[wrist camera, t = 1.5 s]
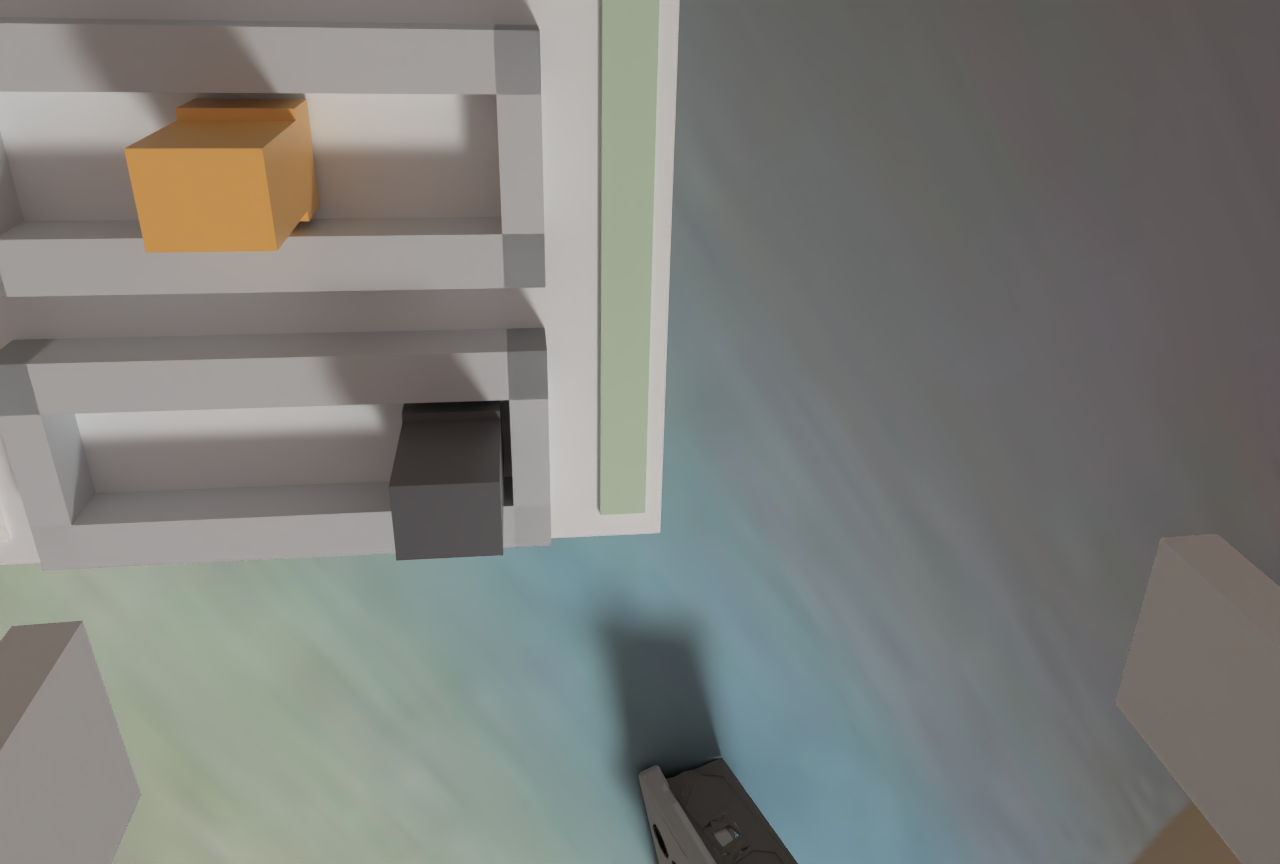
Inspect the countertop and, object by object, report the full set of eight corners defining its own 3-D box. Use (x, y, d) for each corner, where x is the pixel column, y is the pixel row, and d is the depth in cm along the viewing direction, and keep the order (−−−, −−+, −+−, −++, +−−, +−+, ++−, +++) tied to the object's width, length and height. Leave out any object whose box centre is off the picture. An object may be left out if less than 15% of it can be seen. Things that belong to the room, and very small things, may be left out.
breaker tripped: (213, 206, 28) (148, 264, 23) (194, 98, 27) (121, 134, 22) (319, 205, 29) (279, 263, 23) (306, 98, 27) (260, 134, 22)
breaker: (414, 471, 33) (397, 569, 28) (406, 390, 31) (387, 476, 26) (503, 467, 33) (503, 563, 28) (500, 387, 32) (498, 472, 27)
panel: (-30, 542, 34) (-84, 603, 31) (-375, -477, 22) (-523, -548, 19) (654, 511, 37) (668, 564, 33) (685, -405, 25) (710, -455, 21)
